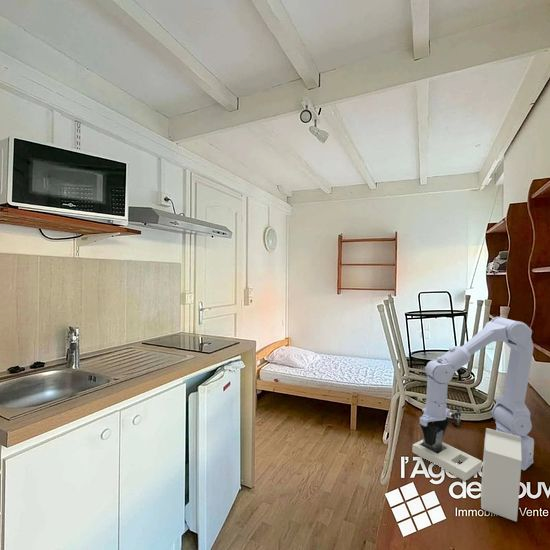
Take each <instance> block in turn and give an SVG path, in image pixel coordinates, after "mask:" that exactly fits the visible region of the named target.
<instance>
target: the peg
mask: <svg viewBox="0 0 550 550" xmlns="http://www.w3.org/2000/svg"><path fill="white" fill-rule="evenodd" d="M422 439H423V447H425V448H427V449H429V450H431V451H433V452H435V453H437V454H438V453H440V452H441V449H442V442H443V440H444V436H443V430H442V429H440V428H438V430H437V432H436V434H435V438H434V443H433V446H430V445H428V444H426V443H425V439H424V435H423V437H422Z"/></svg>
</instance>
